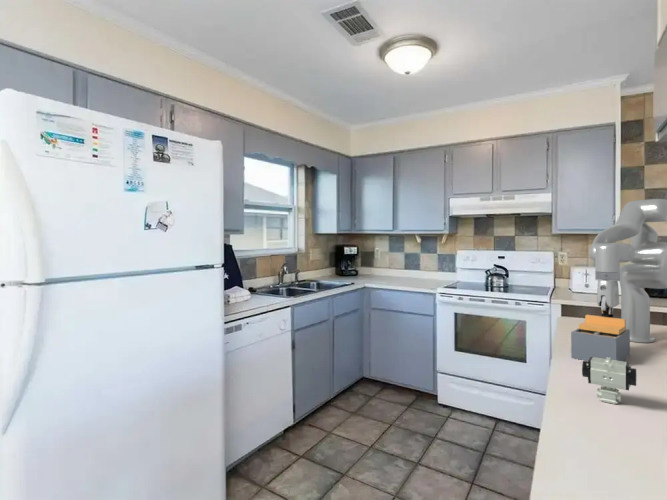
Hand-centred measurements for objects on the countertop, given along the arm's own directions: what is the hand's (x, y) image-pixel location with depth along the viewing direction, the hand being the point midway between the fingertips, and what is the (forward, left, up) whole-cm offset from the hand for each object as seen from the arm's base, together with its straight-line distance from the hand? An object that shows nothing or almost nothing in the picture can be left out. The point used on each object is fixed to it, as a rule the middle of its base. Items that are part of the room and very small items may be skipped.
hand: (607, 324), depth 147 cm
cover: (+7, 0, -1) cm, 7 cm away
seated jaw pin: (+12, -3, -10) cm, 16 cm away
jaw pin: (+12, +4, -10) cm, 17 cm away
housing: (+9, 0, -10) cm, 13 cm away
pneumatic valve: (+51, +13, -11) cm, 53 cm away
